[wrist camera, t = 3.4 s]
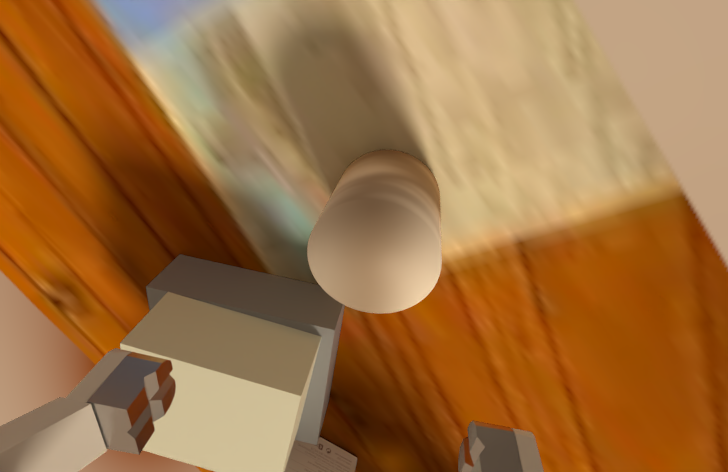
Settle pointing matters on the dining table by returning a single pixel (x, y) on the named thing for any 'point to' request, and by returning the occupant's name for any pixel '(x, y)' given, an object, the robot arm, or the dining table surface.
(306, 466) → the small box
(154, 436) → the tower top
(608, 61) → the dining table surface
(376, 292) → the beige rounded cylinder
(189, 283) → the tower base
